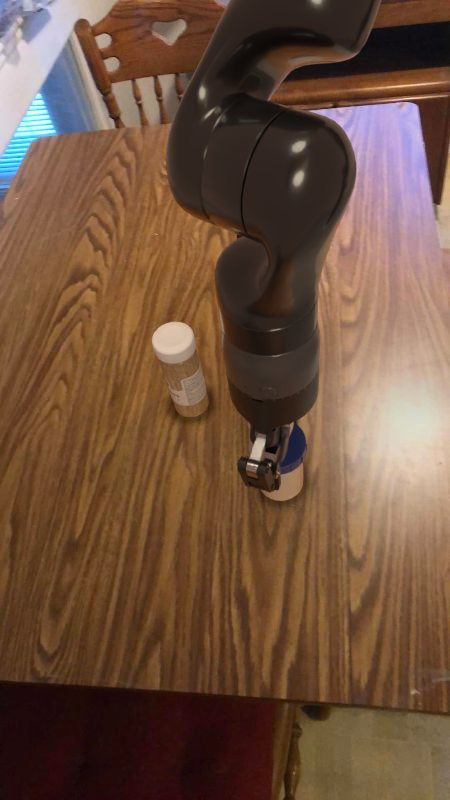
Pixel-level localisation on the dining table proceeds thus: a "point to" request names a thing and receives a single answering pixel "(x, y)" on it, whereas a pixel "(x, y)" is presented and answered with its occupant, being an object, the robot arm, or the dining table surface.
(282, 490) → the jar
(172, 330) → the sprinkles bottle
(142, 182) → the dining table surface
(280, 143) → the robot arm
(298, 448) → the jar lid
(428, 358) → the dining table surface
